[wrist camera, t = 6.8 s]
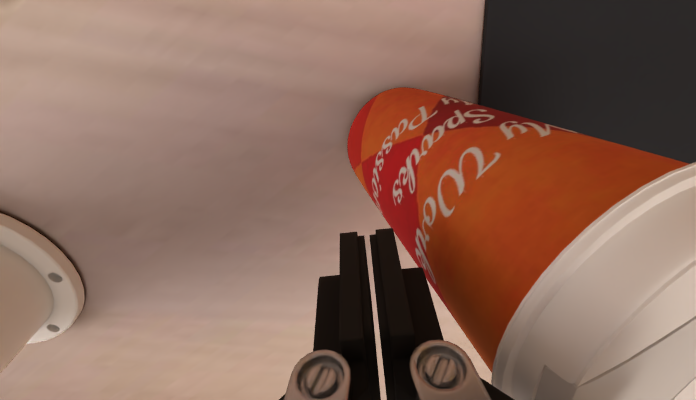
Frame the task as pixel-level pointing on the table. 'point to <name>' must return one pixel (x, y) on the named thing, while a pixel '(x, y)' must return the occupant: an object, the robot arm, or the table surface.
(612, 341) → the coffee cup
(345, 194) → the table surface
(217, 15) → the table surface
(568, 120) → the mat
